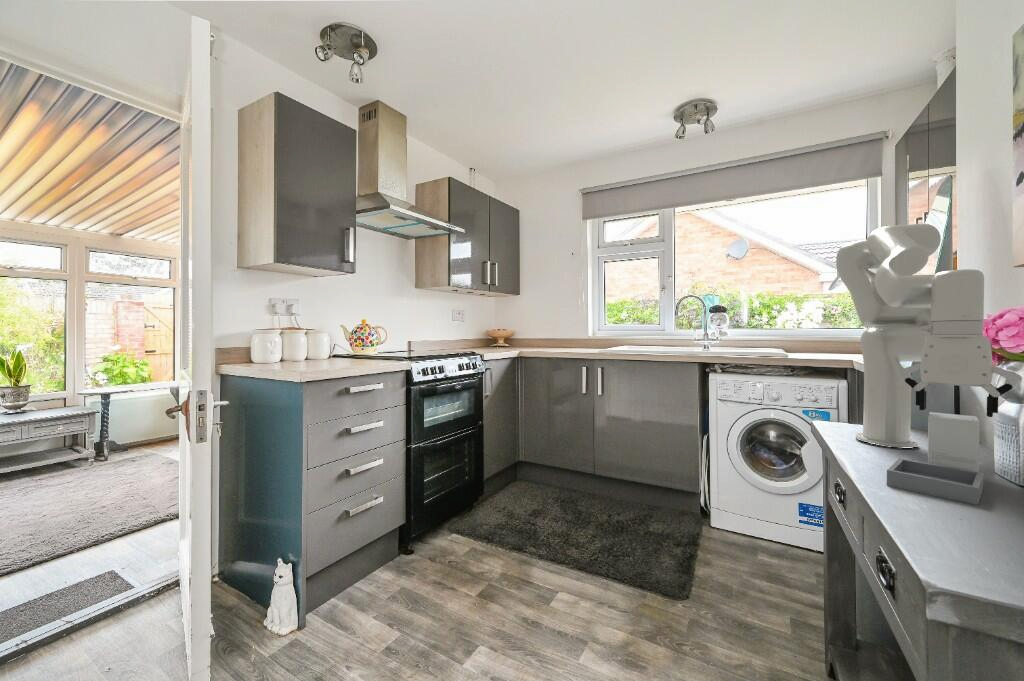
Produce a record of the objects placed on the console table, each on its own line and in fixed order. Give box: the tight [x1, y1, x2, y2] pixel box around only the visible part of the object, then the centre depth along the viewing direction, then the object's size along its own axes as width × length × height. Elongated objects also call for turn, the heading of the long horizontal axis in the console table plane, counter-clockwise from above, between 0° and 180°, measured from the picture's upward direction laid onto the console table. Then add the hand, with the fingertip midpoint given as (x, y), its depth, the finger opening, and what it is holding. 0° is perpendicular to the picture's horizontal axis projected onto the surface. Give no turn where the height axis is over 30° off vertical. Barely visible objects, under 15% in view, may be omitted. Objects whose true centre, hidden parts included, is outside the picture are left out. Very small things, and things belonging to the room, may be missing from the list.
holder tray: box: [886, 457, 984, 506], centre depth 82 cm, size 12×12×3 cm
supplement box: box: [927, 411, 981, 473], centre depth 88 cm, size 7×7×13 cm
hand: (954, 412), depth 88 cm, fingers open, 9 cm apart
